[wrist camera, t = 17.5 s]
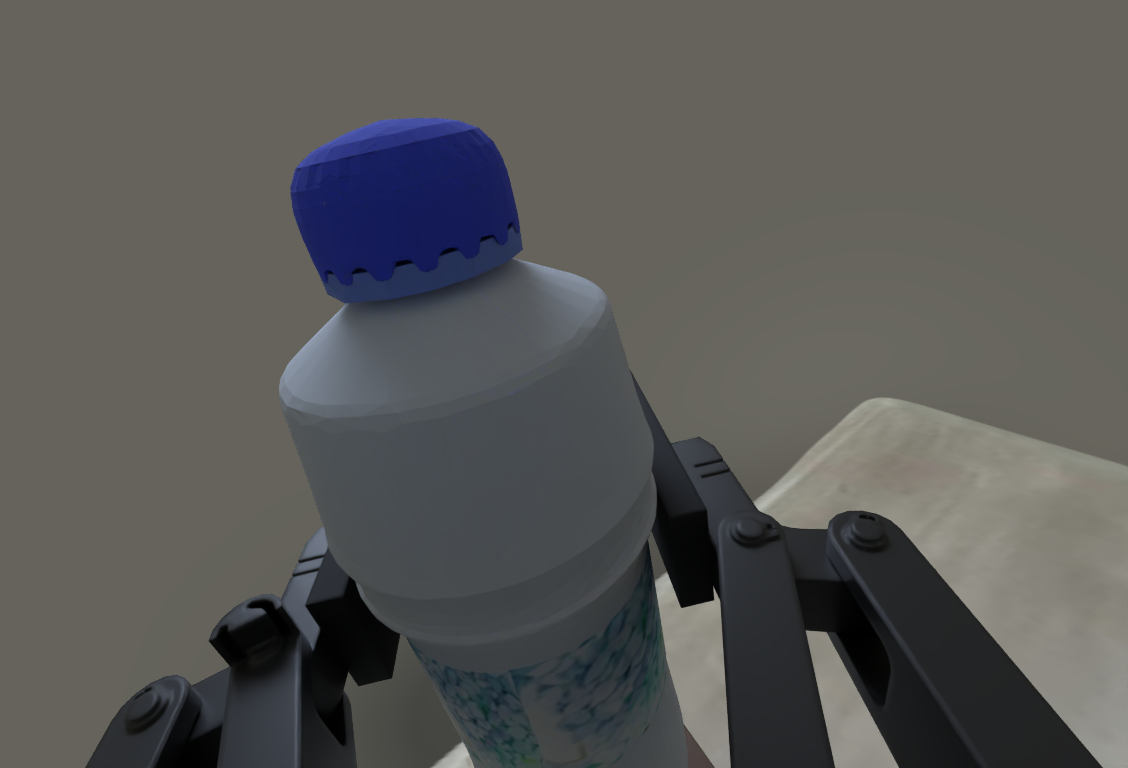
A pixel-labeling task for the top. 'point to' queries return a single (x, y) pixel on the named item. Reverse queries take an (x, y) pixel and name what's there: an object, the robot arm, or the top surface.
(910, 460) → the top surface
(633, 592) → the bottle
